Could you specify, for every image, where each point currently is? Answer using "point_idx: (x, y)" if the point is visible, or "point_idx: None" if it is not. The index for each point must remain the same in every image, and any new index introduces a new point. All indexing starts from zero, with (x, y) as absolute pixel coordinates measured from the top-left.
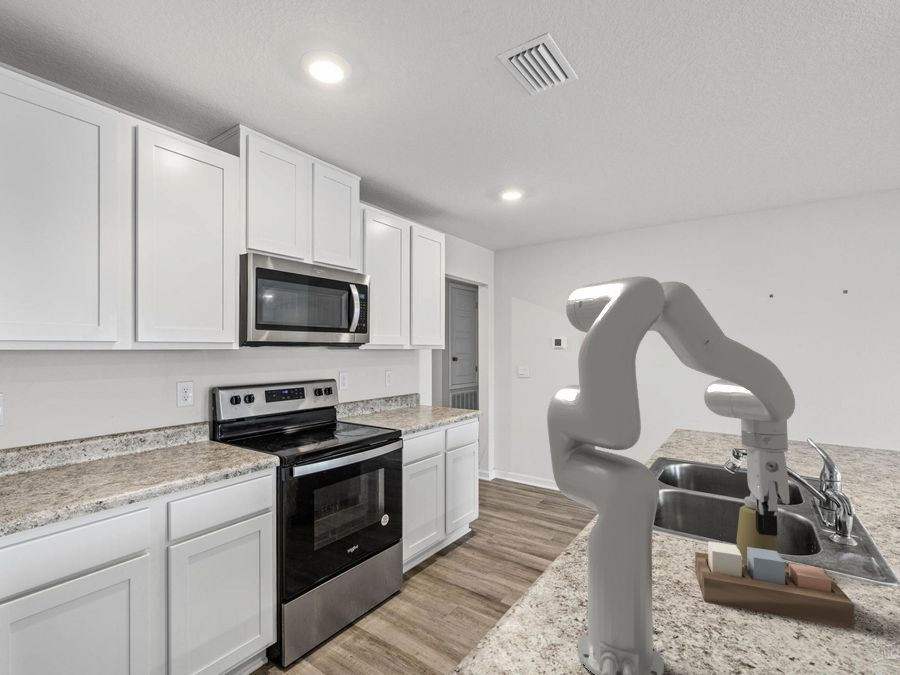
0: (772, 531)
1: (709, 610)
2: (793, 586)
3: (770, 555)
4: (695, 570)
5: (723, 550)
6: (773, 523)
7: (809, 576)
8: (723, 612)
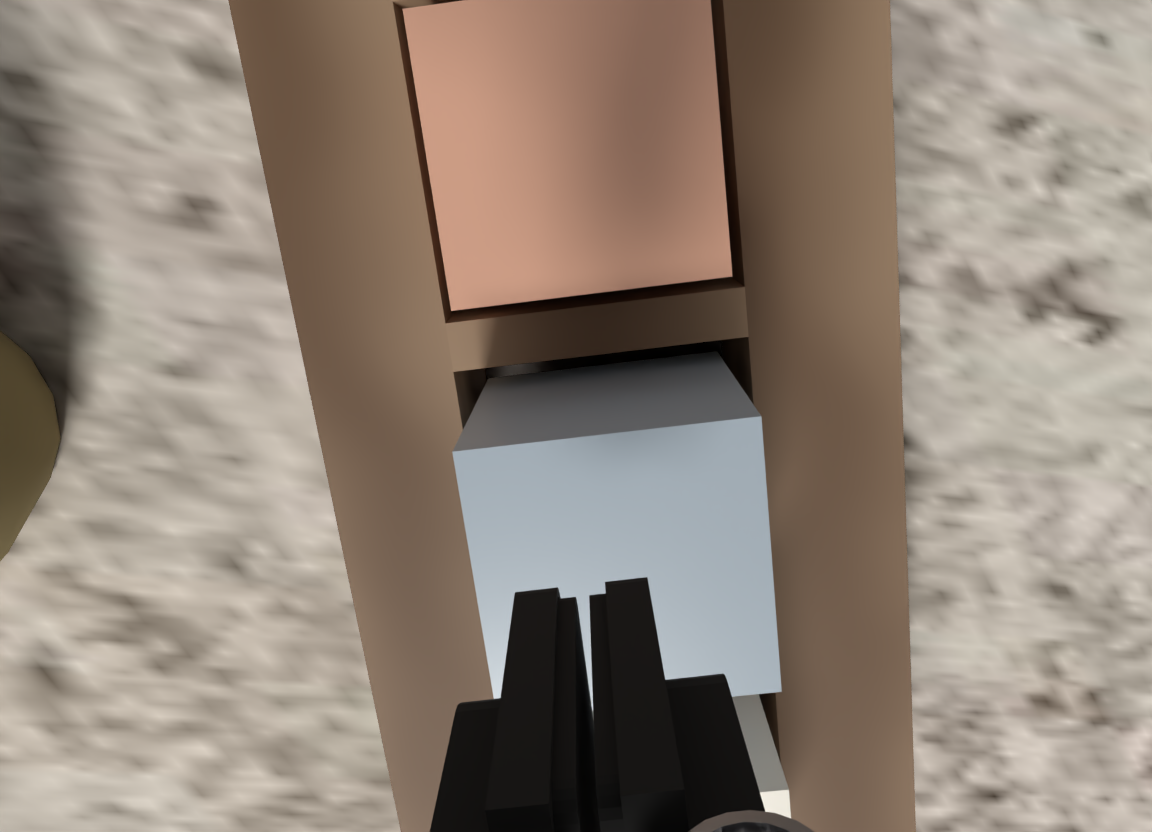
0: (723, 680)
1: (970, 765)
2: (754, 305)
3: (630, 530)
4: None
5: None
6: (675, 732)
7: (715, 169)
8: (959, 695)
